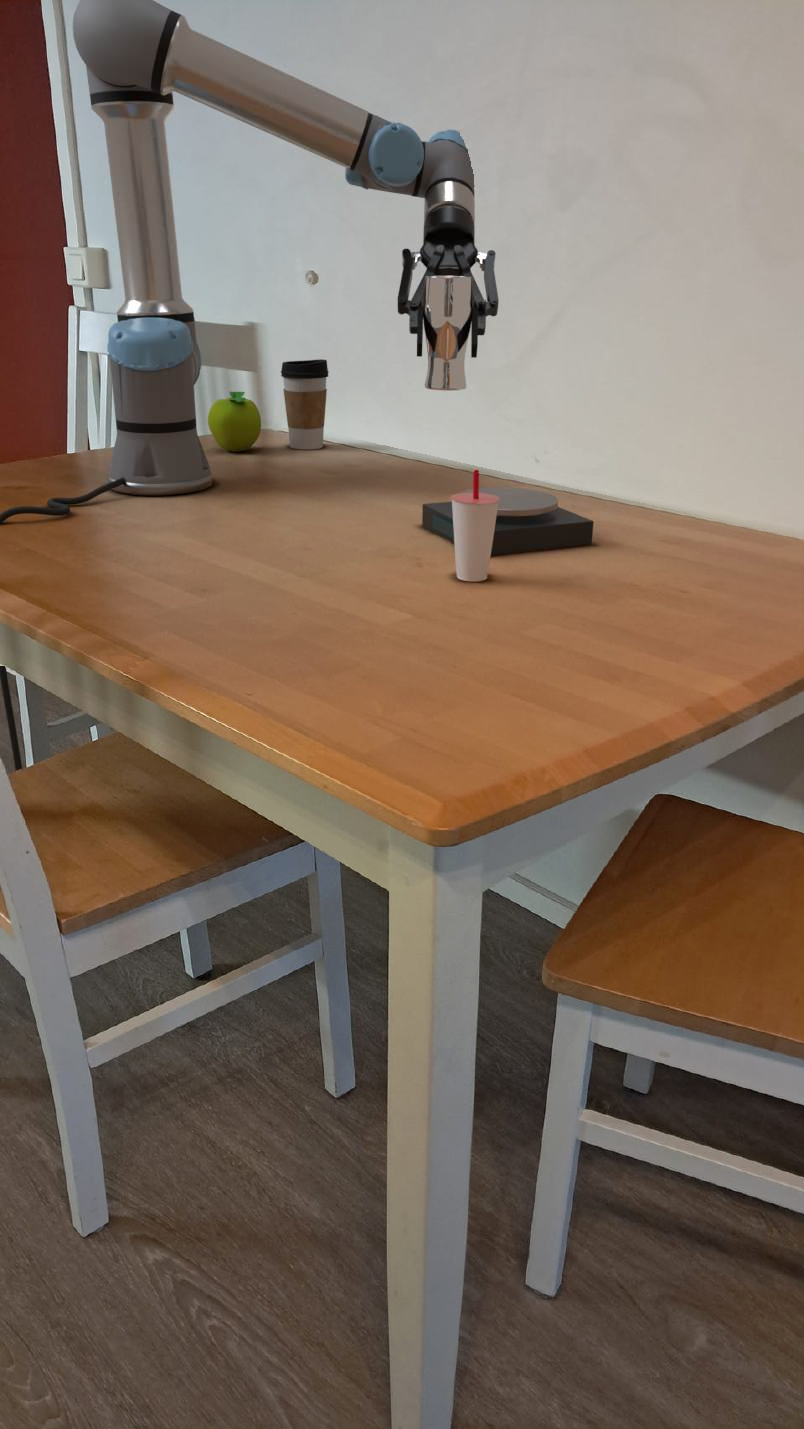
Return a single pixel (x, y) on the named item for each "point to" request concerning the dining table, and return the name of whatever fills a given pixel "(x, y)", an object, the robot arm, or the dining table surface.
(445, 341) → the beer glass
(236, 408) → the fruit
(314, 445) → the coffee cup
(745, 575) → the dining table surface
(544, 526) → the scale
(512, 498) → the scale pan
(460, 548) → the cup
